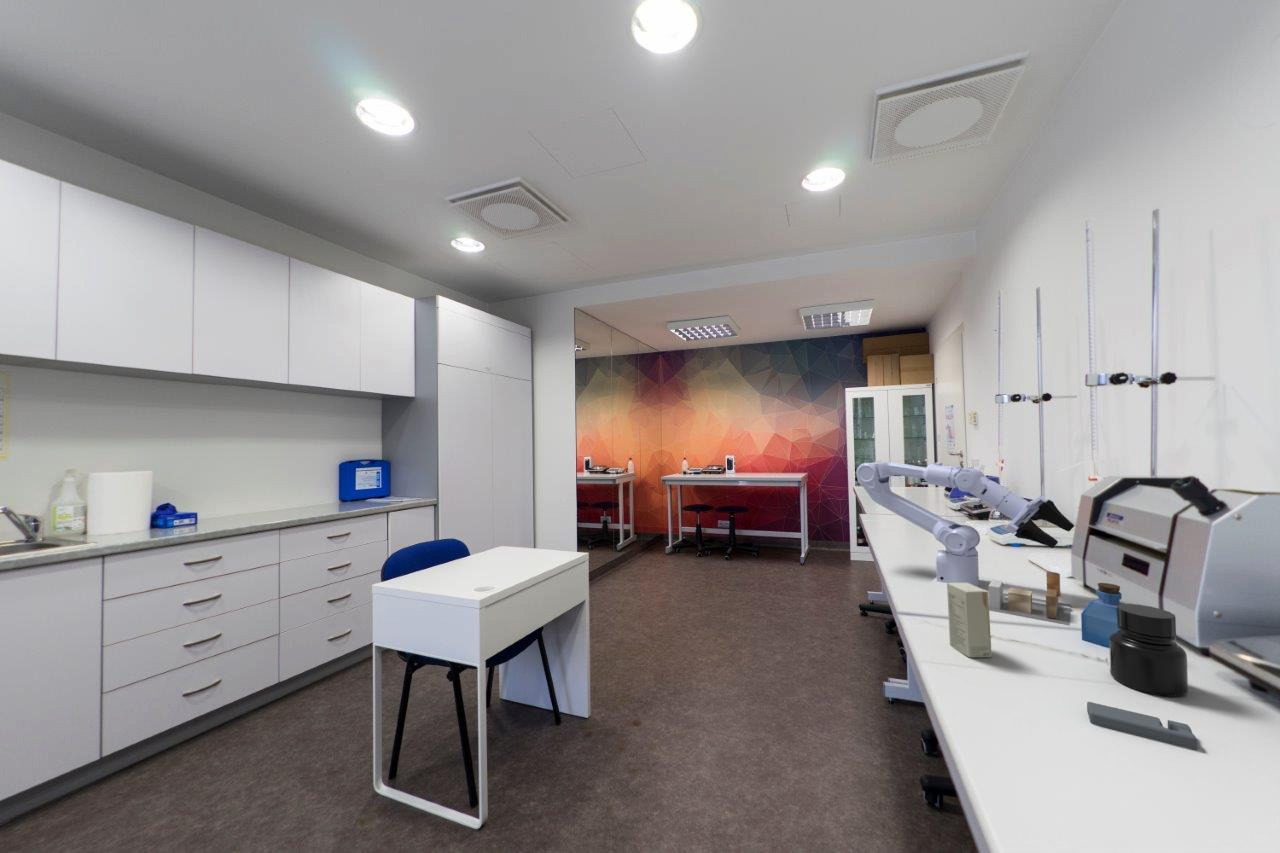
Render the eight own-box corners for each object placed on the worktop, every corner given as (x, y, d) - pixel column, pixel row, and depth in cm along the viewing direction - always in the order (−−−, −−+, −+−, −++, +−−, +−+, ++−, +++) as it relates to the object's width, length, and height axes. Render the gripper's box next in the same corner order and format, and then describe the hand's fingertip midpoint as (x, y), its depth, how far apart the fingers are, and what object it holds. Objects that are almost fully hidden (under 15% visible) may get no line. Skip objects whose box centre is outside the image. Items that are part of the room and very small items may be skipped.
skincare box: (992, 658, 91) (990, 592, 91) (968, 658, 91) (967, 592, 91) (970, 643, 97) (968, 581, 97) (947, 643, 97) (946, 581, 97)
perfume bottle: (1082, 645, 95) (1080, 583, 95) (1098, 639, 98) (1096, 578, 98) (1124, 658, 90) (1122, 592, 90) (1140, 651, 92) (1138, 587, 92)
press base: (987, 614, 112) (987, 587, 112) (997, 596, 124) (996, 572, 124) (1069, 630, 102) (1068, 601, 102) (1071, 608, 114) (1070, 582, 114)
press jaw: (1044, 616, 107) (1043, 584, 107) (1047, 600, 116) (1046, 571, 116) (1058, 618, 105) (1057, 587, 105) (1060, 602, 115) (1059, 573, 115)
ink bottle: (1154, 671, 85) (1152, 601, 85) (1208, 699, 76) (1206, 621, 76) (1093, 670, 86) (1091, 601, 86) (1139, 697, 77) (1137, 620, 77)
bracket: (1087, 713, 74) (1086, 700, 74) (1189, 738, 67) (1188, 723, 67) (1090, 727, 70) (1090, 713, 70) (1198, 754, 64) (1197, 738, 64)
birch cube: (1008, 609, 112) (1008, 592, 112) (1010, 604, 115) (1010, 587, 115) (1030, 613, 109) (1030, 595, 109) (1032, 608, 112) (1031, 591, 112)
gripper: (994, 504, 119) (1056, 542, 111) (1026, 477, 125) (1087, 511, 116) (983, 522, 124) (1041, 560, 115) (1014, 495, 130) (1072, 528, 121)
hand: (1063, 536), depth 116 cm, fingers open, 7 cm apart
